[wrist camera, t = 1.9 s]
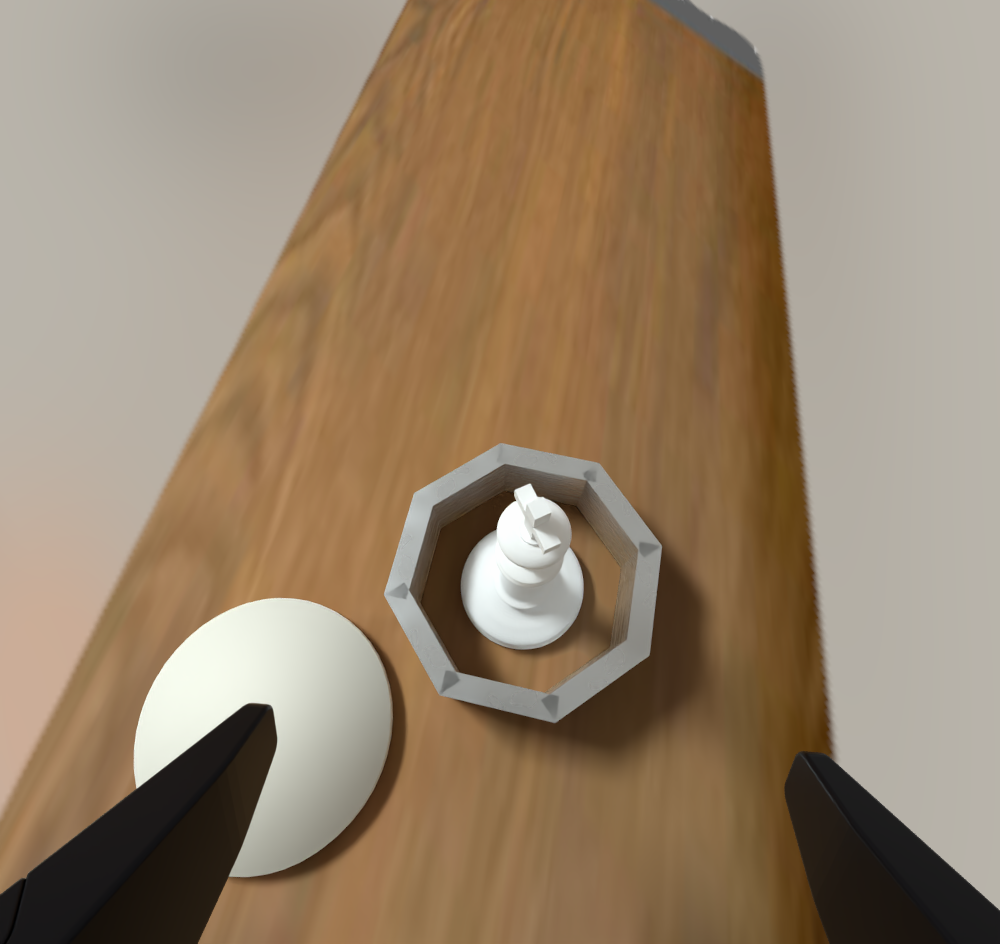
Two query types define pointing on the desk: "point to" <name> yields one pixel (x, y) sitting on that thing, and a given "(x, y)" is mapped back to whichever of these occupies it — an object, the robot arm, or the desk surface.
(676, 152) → the desk surface
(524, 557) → the chess piece
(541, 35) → the desk surface
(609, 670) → the ring collar
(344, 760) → the felt pad
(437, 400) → the desk surface
